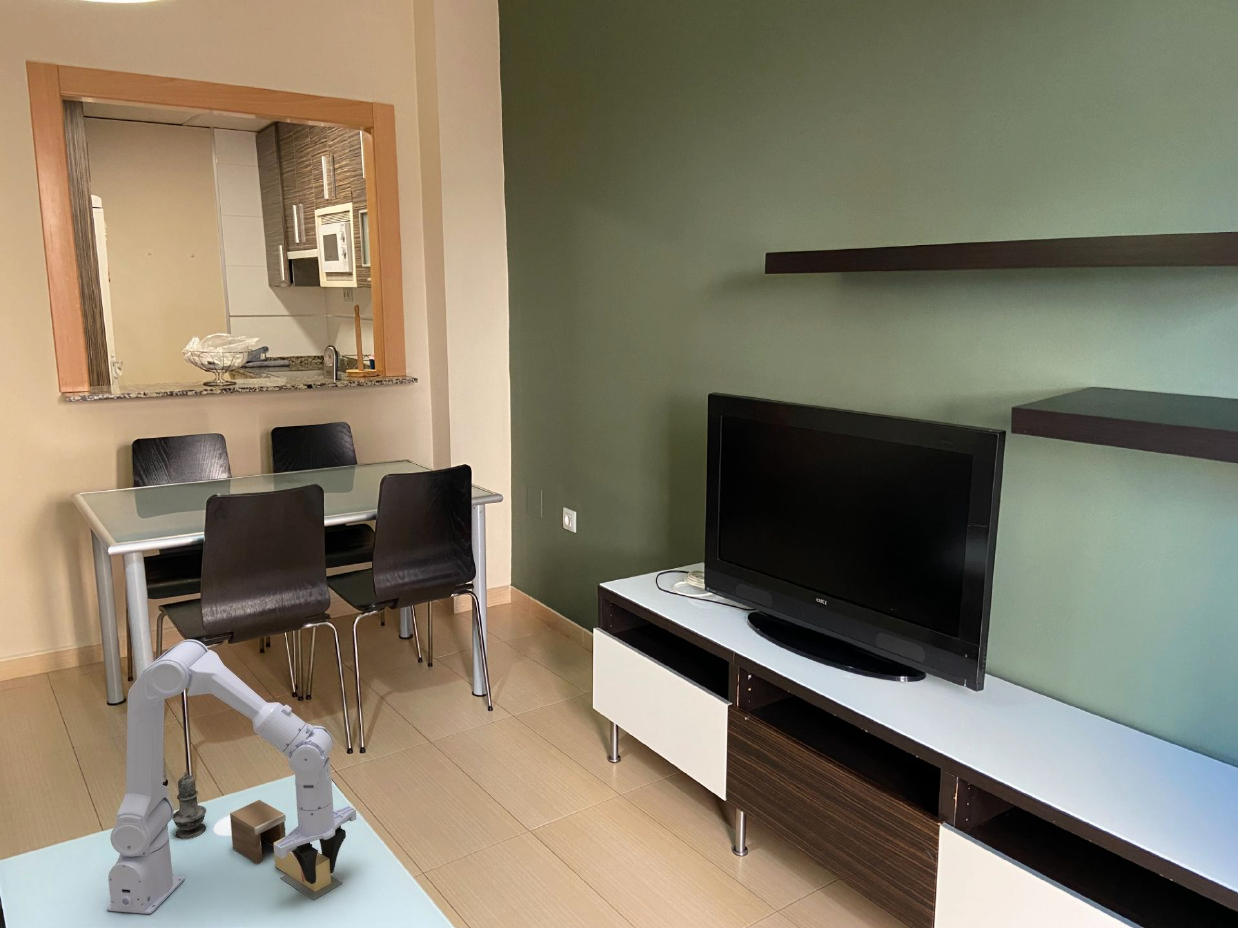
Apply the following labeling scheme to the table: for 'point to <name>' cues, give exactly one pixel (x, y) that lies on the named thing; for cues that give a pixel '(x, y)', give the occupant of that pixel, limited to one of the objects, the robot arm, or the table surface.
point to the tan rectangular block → (295, 871)
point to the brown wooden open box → (256, 828)
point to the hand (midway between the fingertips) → (319, 875)
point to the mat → (307, 890)
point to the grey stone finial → (188, 810)
